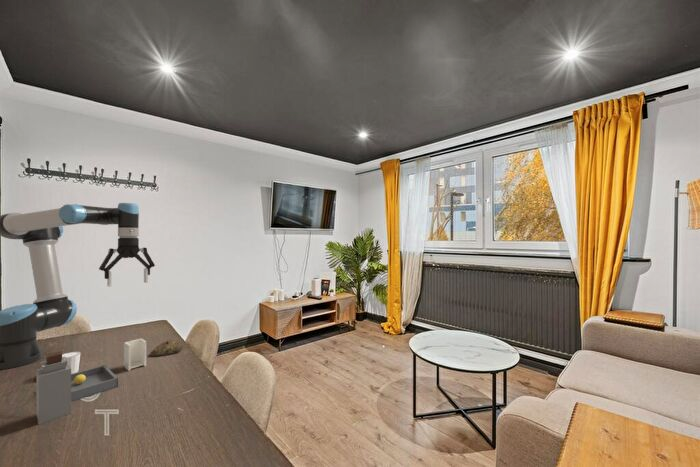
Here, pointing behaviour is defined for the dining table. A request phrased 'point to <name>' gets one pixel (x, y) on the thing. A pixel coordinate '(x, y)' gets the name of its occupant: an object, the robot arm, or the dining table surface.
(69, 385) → the perfume bottle
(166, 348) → the bread roll
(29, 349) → the robot arm
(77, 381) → the ball
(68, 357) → the shot glass
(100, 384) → the tray
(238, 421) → the dining table surface
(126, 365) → the white u-shaped stool
